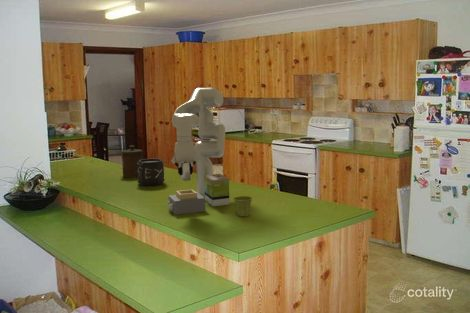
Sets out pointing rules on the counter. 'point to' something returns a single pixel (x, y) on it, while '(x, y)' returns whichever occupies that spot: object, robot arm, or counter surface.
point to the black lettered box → (150, 172)
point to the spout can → (185, 171)
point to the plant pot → (243, 205)
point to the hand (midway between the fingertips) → (185, 174)
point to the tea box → (216, 189)
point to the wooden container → (131, 161)
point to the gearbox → (186, 202)
